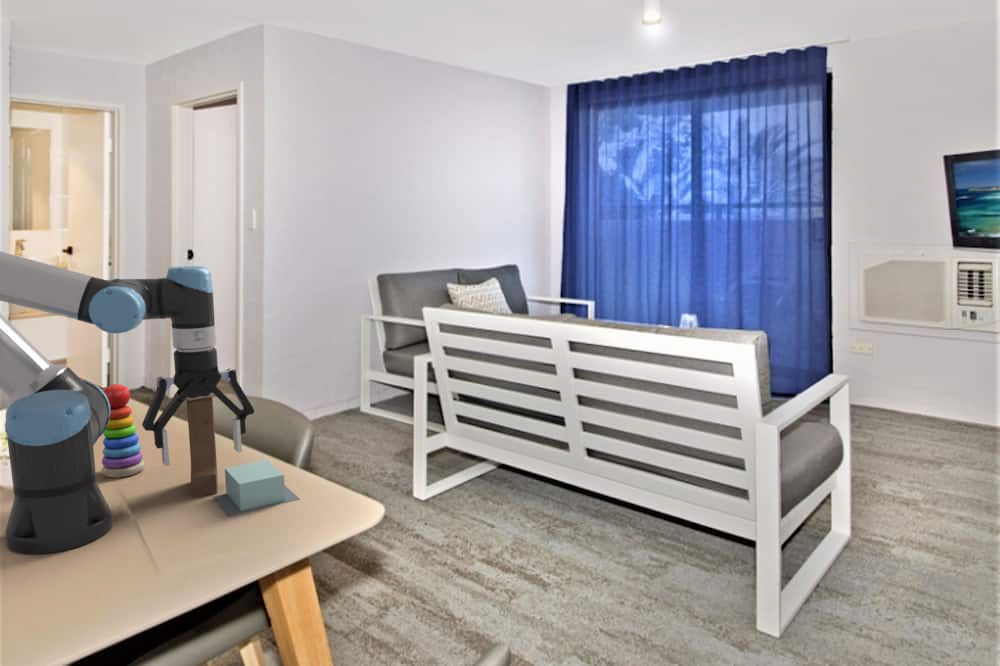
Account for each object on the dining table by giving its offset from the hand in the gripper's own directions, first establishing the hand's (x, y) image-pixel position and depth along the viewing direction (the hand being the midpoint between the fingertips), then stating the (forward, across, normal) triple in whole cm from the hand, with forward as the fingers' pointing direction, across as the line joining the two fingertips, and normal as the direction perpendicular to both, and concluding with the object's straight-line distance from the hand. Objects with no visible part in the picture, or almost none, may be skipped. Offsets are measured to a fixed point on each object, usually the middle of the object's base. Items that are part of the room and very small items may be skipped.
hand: (203, 456), depth 137 cm
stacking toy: (+7, -12, +20) cm, 24 cm away
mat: (+7, +6, -12) cm, 15 cm away
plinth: (+6, +6, -11) cm, 14 cm away
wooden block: (+7, 0, 0) cm, 7 cm away
